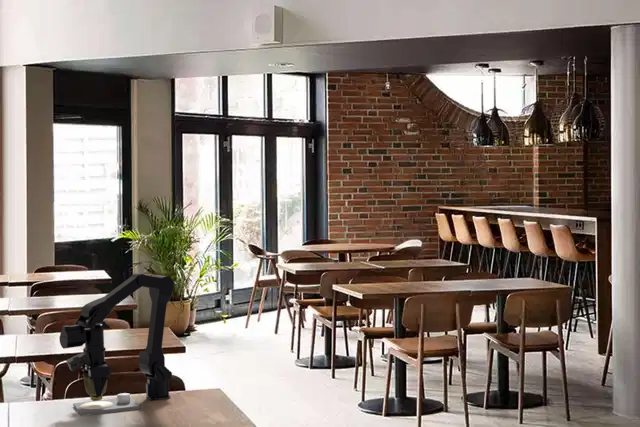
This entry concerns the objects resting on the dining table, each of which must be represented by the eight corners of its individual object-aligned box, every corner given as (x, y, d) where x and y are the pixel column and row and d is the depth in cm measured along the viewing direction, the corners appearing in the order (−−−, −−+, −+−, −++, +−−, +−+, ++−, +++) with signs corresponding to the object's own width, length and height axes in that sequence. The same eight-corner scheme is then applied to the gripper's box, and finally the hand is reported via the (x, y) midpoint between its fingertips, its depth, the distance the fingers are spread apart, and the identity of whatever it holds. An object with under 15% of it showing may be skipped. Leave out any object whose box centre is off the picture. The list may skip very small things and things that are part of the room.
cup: (112, 397, 302) (111, 372, 301) (104, 402, 294) (103, 376, 294) (88, 397, 303) (88, 372, 302) (80, 403, 295) (79, 377, 295)
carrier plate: (130, 400, 310) (129, 389, 310) (140, 408, 297) (139, 397, 297) (73, 406, 303) (72, 395, 302) (80, 415, 290) (80, 404, 290)
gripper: (63, 342, 303) (65, 391, 304) (72, 351, 286) (74, 403, 287) (99, 339, 308) (100, 387, 308) (110, 347, 291) (112, 399, 291)
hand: (96, 394), depth 298 cm, fingers closed on cup, 6 cm apart
